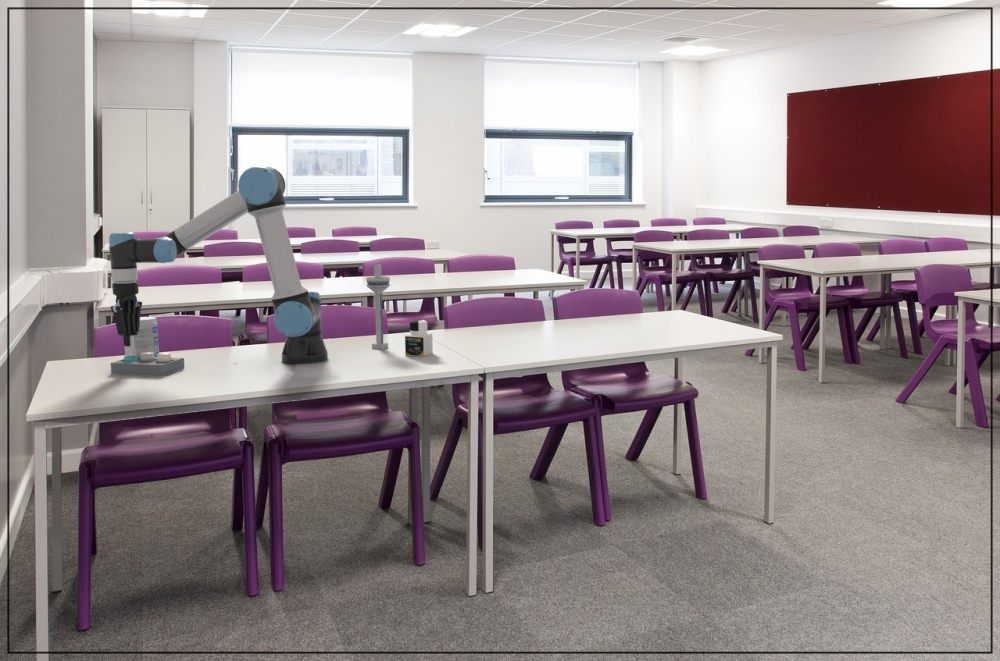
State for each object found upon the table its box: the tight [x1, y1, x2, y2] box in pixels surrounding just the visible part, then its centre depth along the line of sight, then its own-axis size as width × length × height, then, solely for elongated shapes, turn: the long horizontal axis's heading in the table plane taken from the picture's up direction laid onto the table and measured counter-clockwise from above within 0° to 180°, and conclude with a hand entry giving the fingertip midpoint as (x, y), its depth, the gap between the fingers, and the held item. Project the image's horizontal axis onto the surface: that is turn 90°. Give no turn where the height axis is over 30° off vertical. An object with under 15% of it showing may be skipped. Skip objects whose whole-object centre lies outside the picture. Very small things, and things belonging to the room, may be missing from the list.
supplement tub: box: [135, 316, 160, 357], centre depth 297 cm, size 10×10×15 cm
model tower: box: [365, 264, 391, 350], centre depth 318 cm, size 8×8×30 cm
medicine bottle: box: [404, 319, 434, 358], centre depth 306 cm, size 7×7×12 cm
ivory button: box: [157, 352, 172, 363], centre depth 280 cm, size 4×4×3 cm
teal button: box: [123, 356, 138, 362], centre depth 283 cm, size 4×4×3 cm
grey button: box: [140, 352, 154, 362], centre depth 281 cm, size 4×4×3 cm
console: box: [110, 356, 185, 377], centre depth 282 cm, size 18×12×4 cm, turn 77°
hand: (130, 355), depth 283 cm, fingers closed
